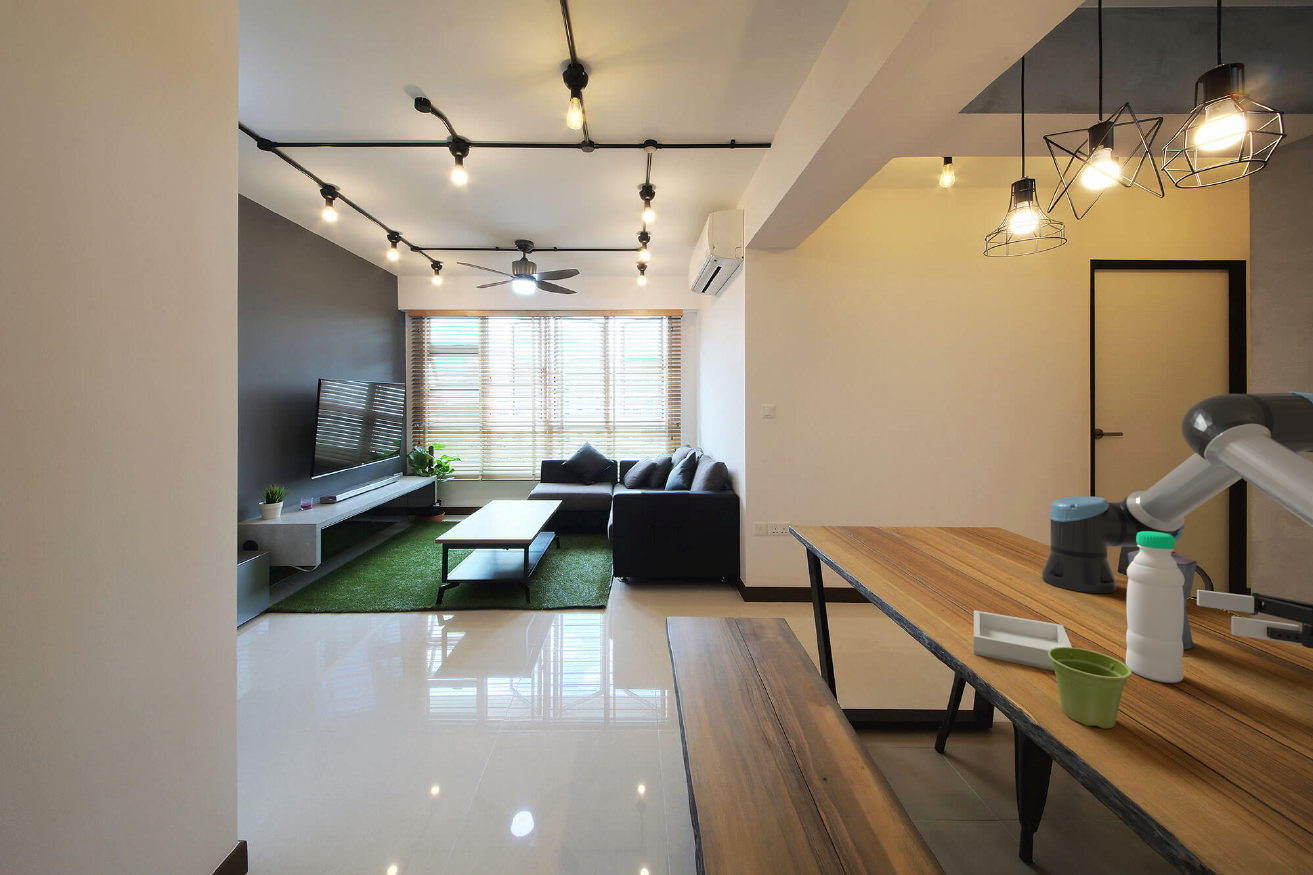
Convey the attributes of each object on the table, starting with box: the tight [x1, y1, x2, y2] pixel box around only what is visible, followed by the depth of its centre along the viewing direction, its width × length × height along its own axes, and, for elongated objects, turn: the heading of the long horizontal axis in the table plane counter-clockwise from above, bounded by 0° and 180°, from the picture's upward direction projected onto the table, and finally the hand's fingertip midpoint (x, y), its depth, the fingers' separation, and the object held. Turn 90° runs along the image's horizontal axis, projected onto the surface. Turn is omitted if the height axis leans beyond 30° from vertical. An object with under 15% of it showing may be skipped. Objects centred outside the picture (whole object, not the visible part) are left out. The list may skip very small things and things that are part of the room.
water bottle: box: [1125, 531, 1185, 684], centre depth 85 cm, size 7×7×25 cm
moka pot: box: [1127, 549, 1198, 650], centre depth 98 cm, size 10×15×20 cm, turn 137°
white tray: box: [973, 610, 1073, 672], centre depth 96 cm, size 15×15×4 cm
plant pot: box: [1048, 646, 1132, 729], centre depth 73 cm, size 9×9×9 cm
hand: (1213, 610), depth 81 cm, fingers open, 13 cm apart
